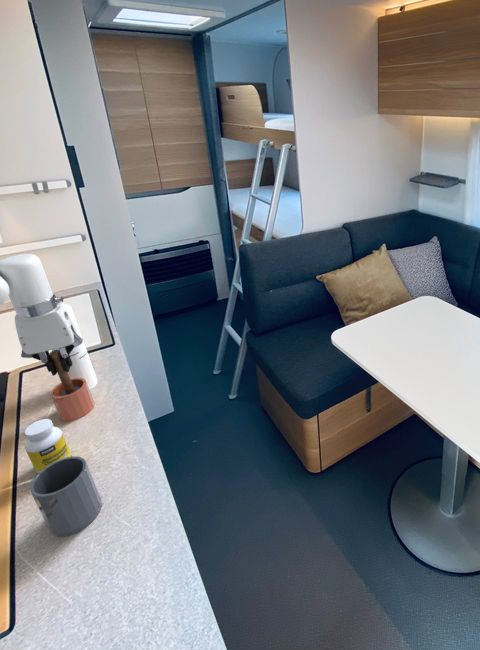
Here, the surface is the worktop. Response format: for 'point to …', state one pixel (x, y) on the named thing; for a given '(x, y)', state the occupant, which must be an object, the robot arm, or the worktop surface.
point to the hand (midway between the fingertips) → (61, 370)
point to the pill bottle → (45, 444)
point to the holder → (72, 401)
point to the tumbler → (66, 496)
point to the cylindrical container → (80, 357)
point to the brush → (63, 374)
